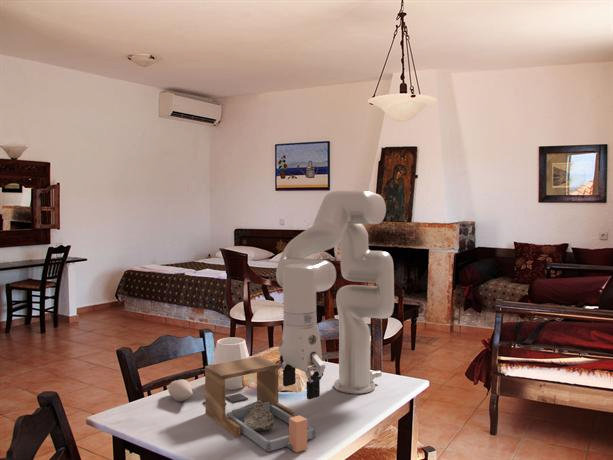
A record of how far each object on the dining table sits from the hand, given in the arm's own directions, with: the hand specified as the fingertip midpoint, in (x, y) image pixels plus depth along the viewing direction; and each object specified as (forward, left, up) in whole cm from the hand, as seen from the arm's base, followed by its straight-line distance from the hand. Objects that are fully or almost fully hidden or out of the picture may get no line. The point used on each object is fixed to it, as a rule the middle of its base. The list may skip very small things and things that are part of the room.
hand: (300, 391), depth 127 cm
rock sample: (+3, -16, -14) cm, 21 cm away
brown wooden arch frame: (+1, -28, -14) cm, 31 cm away
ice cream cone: (+11, -45, -14) cm, 48 cm away
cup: (-7, -50, -14) cm, 52 cm away
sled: (+1, -11, -13) cm, 17 cm away
